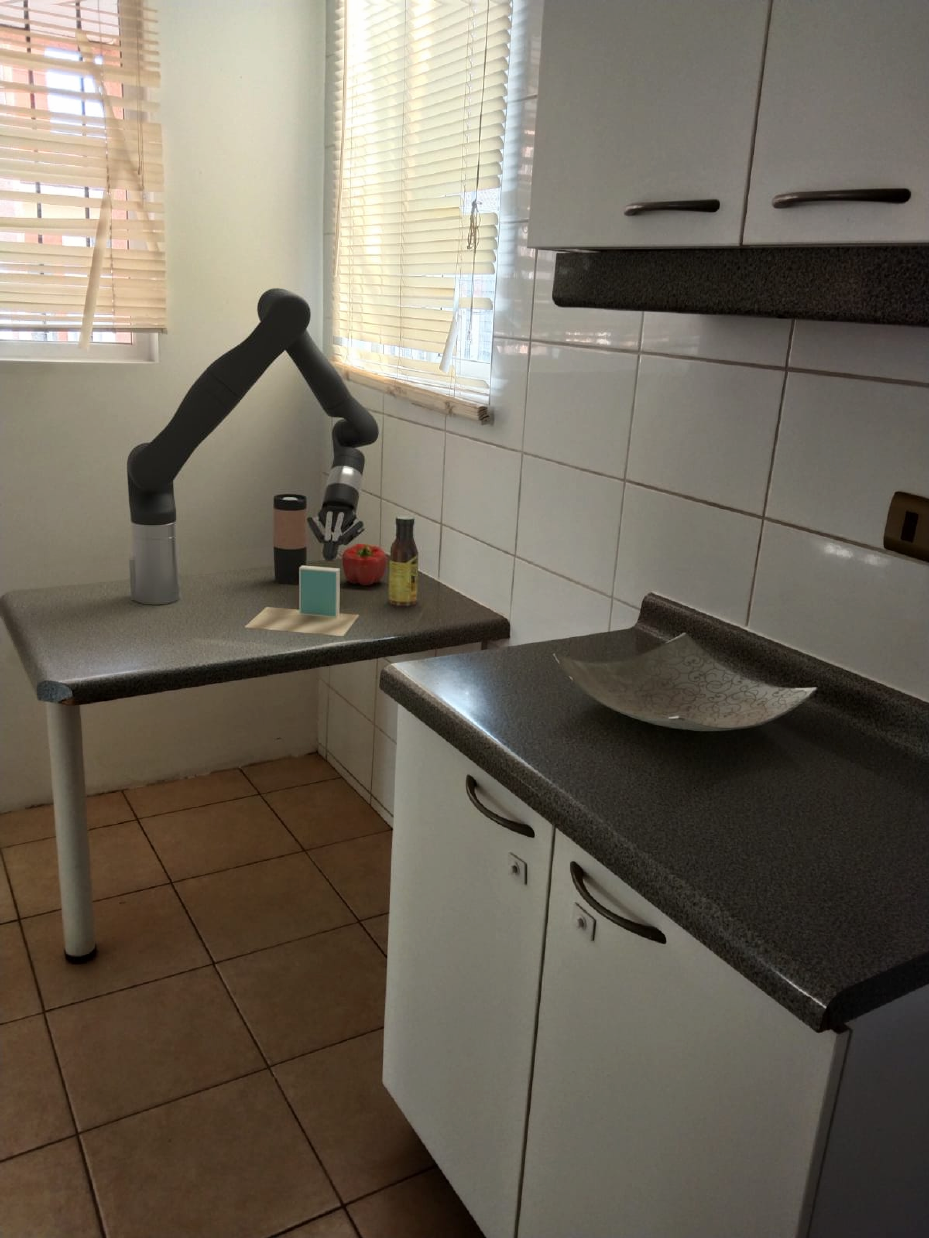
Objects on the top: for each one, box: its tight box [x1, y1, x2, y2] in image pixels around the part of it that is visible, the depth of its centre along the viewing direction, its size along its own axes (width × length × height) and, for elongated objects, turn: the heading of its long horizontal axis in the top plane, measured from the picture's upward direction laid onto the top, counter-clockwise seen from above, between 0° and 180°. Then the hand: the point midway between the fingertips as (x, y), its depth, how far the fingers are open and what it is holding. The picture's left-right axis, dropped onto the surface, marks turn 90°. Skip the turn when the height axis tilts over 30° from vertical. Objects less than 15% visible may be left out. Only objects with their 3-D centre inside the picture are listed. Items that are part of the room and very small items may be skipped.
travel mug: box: [272, 493, 308, 586], centre depth 232 cm, size 8×8×20 cm
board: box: [244, 606, 360, 637], centre depth 204 cm, size 20×14×1 cm
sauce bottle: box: [388, 515, 419, 607], centre depth 218 cm, size 7×6×20 cm
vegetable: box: [341, 543, 388, 586], centre depth 235 cm, size 11×10×10 cm
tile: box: [298, 565, 341, 618], centre depth 207 cm, size 8×2×10 cm, turn 83°
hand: (328, 559), depth 212 cm, fingers closed
